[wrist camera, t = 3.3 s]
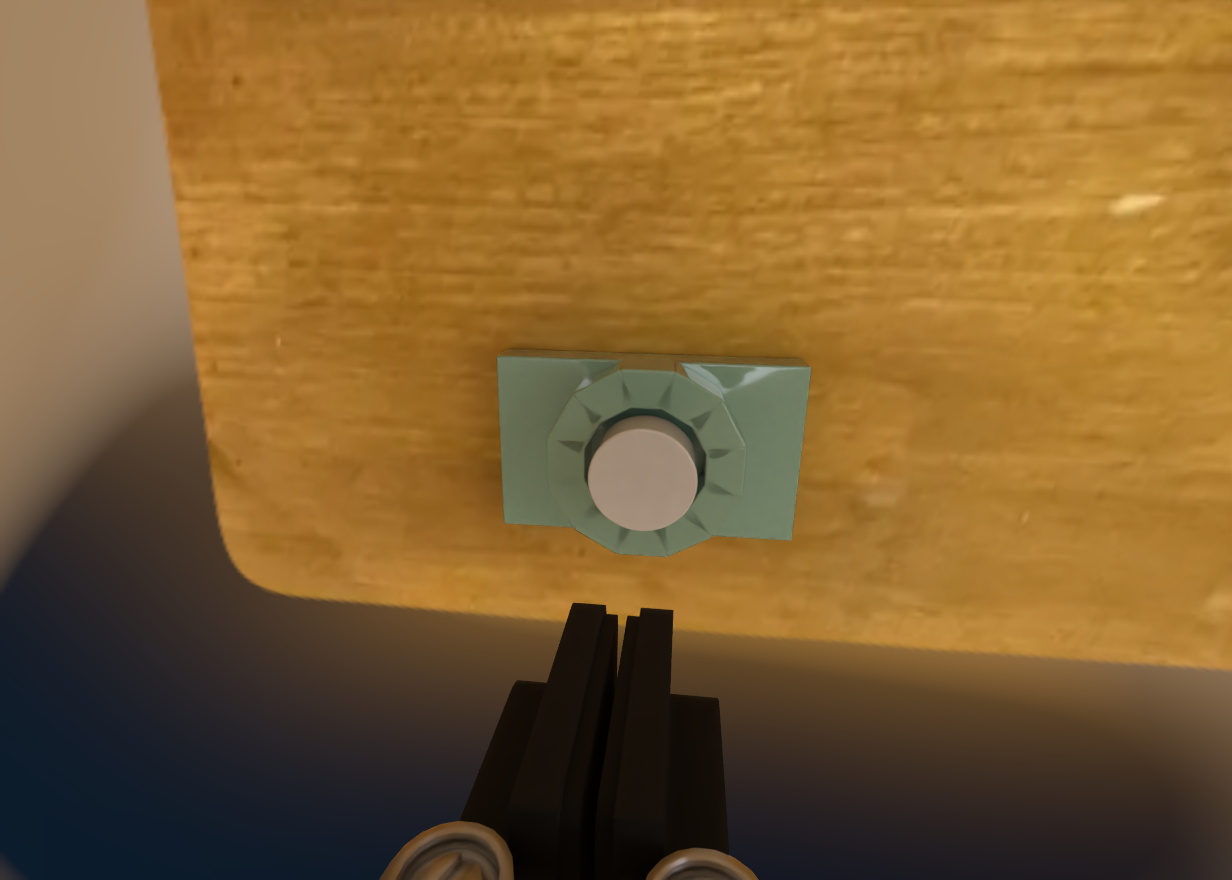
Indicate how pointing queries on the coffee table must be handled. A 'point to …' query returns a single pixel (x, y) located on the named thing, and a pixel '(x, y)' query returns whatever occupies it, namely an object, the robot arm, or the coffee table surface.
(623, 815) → the robot arm
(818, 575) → the coffee table surface
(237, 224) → the coffee table surface
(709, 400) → the green push button base
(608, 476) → the beige push button
